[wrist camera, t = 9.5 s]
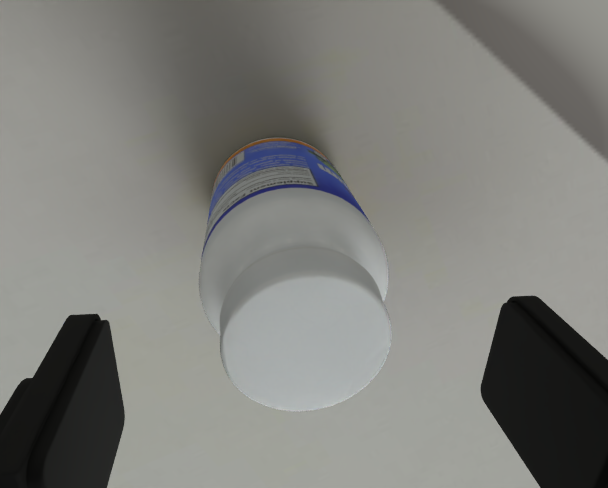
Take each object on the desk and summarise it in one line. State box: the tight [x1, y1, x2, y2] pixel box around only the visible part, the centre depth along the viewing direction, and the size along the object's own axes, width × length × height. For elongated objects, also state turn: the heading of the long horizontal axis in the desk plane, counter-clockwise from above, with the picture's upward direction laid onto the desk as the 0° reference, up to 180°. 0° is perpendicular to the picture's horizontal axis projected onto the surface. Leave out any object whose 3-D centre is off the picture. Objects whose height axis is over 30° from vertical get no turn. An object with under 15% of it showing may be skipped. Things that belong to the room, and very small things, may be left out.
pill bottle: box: [199, 137, 392, 412], centre depth 15 cm, size 5×5×10 cm
